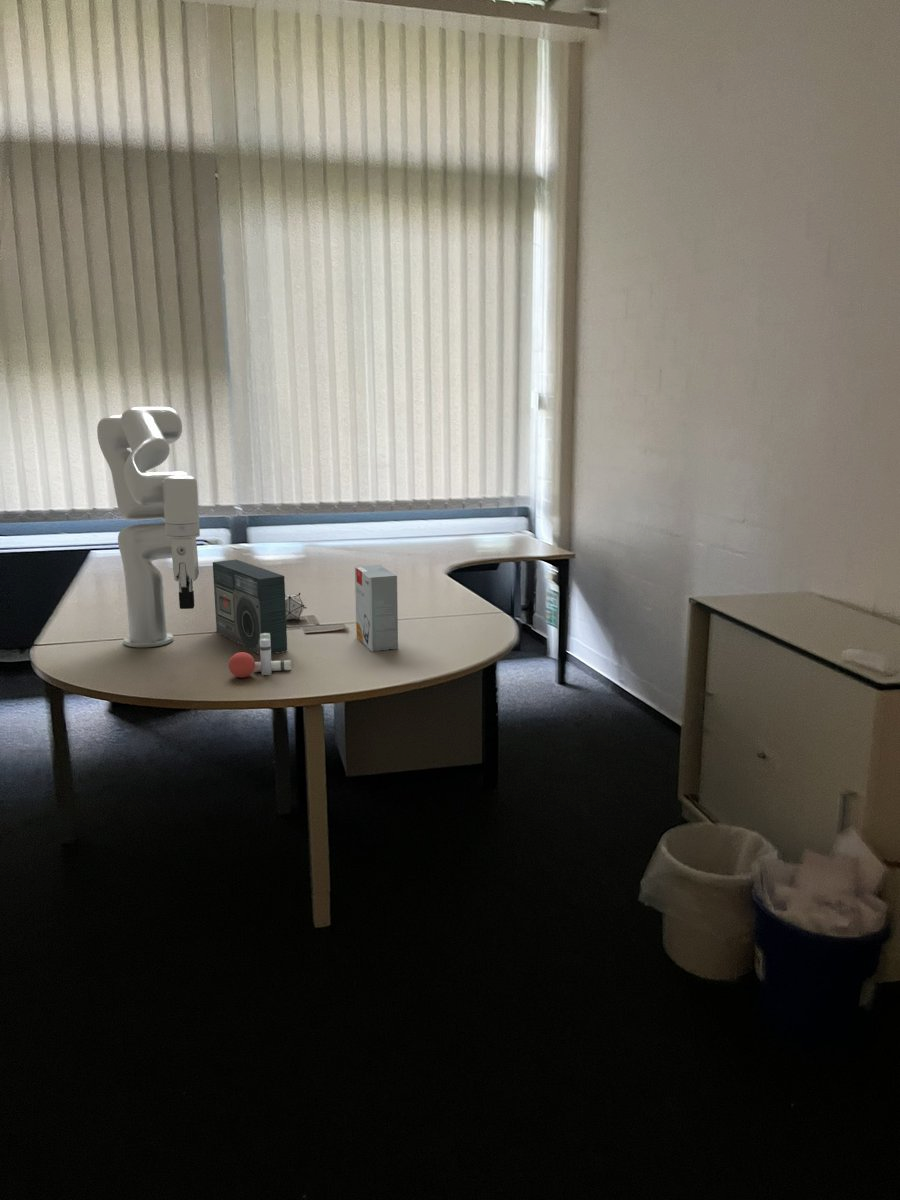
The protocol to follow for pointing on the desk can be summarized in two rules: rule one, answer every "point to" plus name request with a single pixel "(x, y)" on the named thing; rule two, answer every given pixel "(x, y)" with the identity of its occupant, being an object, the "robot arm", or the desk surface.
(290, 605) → the game die
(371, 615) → the hard drive box
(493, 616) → the desk surface
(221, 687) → the desk surface
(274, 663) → the front pin
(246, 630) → the cassette player
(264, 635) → the back left pin
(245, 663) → the ball
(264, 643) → the back right pin
